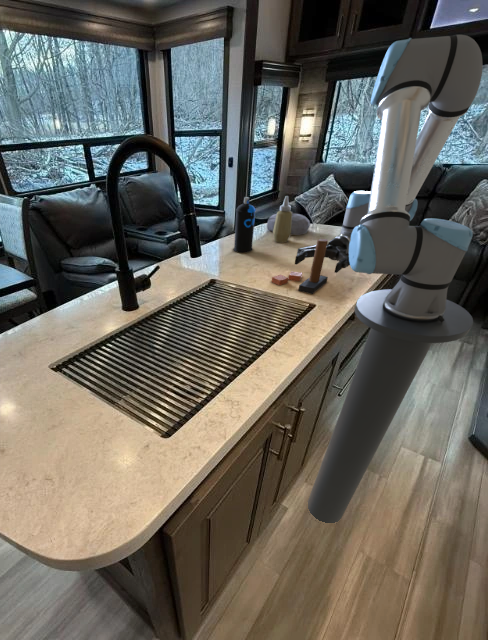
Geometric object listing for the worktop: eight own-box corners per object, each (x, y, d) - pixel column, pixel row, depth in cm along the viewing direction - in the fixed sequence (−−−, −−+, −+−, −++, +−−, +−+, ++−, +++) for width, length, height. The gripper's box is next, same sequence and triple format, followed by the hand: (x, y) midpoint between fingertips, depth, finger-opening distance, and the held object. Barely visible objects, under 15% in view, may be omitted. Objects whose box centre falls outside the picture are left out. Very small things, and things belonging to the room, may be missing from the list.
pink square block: (301, 277, 120) (302, 272, 119) (299, 281, 118) (300, 276, 116) (290, 276, 122) (291, 271, 121) (288, 280, 119) (288, 275, 118)
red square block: (287, 282, 117) (288, 277, 116) (279, 285, 116) (279, 280, 115) (279, 279, 120) (280, 274, 119) (271, 282, 118) (272, 276, 117)
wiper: (326, 282, 116) (337, 236, 106) (312, 294, 109) (323, 246, 100) (312, 279, 119) (322, 234, 109) (298, 290, 112) (307, 243, 102)
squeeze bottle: (288, 244, 150) (295, 198, 138) (270, 243, 152) (275, 197, 140) (290, 239, 155) (297, 194, 143) (273, 238, 158) (278, 194, 146)
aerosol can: (229, 250, 146) (232, 198, 133) (240, 245, 151) (243, 194, 137) (245, 254, 142) (249, 200, 129) (256, 249, 146) (260, 196, 133)
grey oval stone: (262, 232, 165) (300, 238, 155) (264, 213, 160) (304, 218, 150) (277, 225, 174) (314, 230, 164) (279, 207, 168) (317, 211, 159)
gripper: (372, 264, 116) (351, 283, 104) (305, 251, 129) (279, 268, 117) (379, 241, 111) (358, 259, 99) (309, 230, 124) (282, 245, 112)
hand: (315, 264), depth 108 cm, fingers open, 13 cm apart
